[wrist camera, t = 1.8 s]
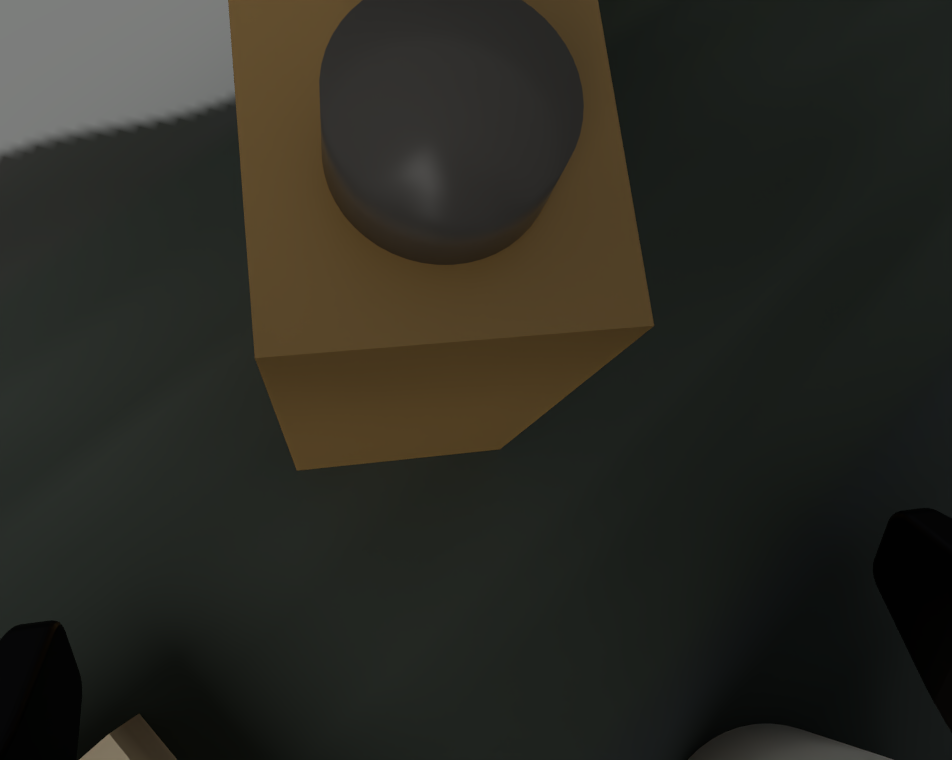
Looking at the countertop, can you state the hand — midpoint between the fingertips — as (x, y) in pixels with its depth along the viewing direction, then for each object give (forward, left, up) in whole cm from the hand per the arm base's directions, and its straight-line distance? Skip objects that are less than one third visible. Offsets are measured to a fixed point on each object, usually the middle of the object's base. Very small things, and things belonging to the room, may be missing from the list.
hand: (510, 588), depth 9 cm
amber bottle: (+5, -3, -12) cm, 13 cm away
